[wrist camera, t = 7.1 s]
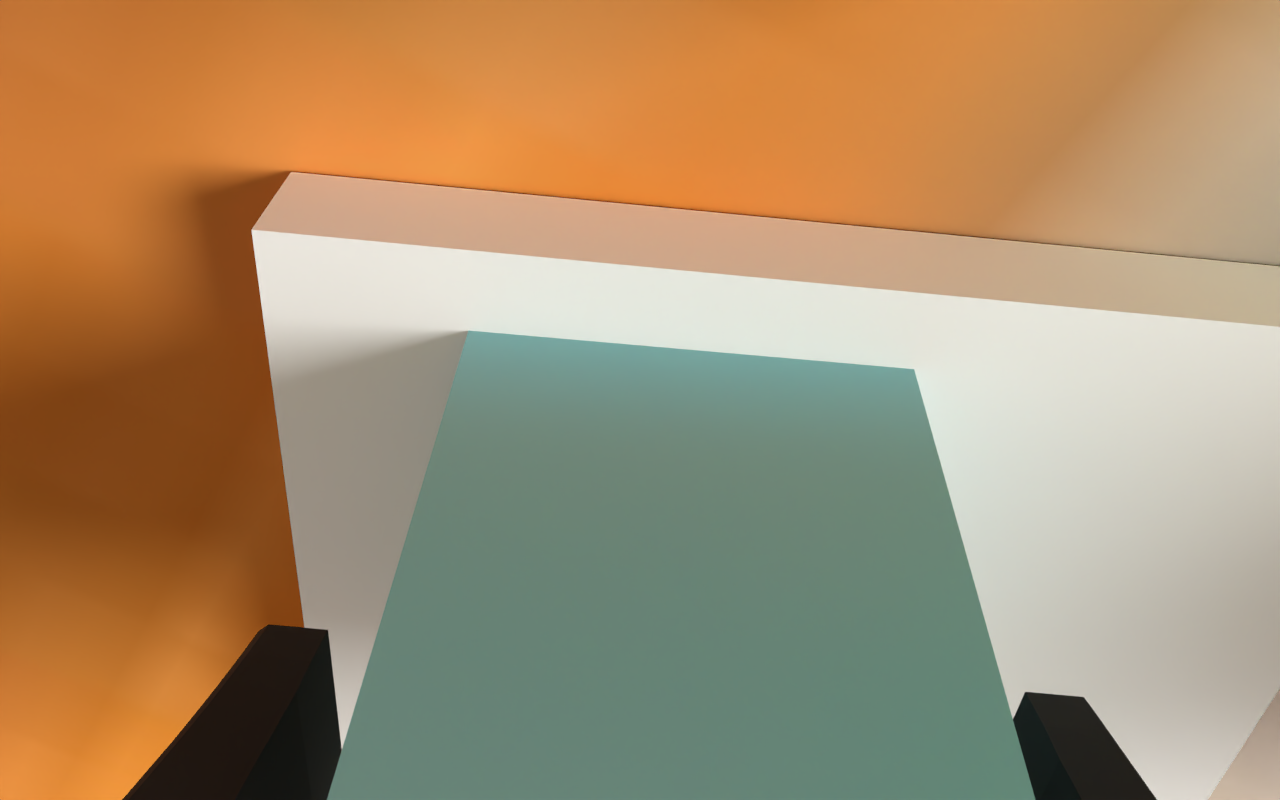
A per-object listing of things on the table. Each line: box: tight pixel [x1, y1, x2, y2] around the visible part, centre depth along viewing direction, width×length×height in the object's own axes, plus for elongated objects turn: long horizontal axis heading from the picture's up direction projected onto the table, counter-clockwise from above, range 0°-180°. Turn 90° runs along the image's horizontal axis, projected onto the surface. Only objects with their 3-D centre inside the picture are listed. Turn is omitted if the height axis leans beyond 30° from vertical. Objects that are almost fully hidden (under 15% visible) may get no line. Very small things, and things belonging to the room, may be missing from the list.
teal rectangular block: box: [327, 331, 1035, 800], centre depth 12 cm, size 5×5×7 cm
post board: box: [251, 172, 1280, 800], centre depth 19 cm, size 20×14×2 cm
